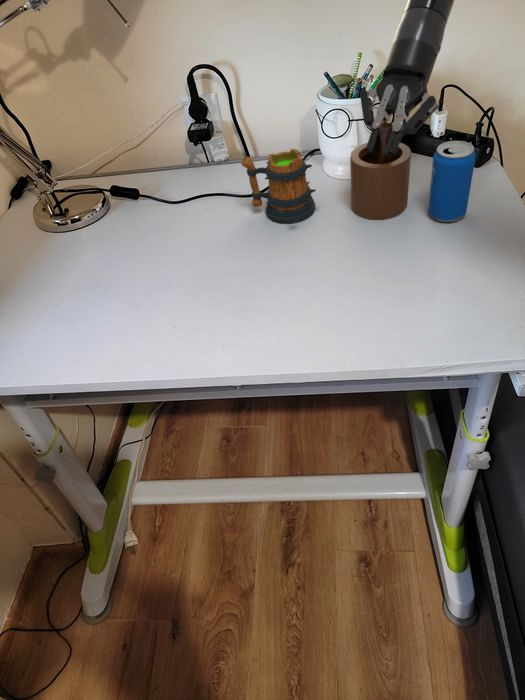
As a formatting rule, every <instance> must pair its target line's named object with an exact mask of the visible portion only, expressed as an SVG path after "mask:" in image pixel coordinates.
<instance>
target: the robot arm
mask: <svg viewBox="0 0 525 700" xmlns="http://www.w3.org/2000/svg"><path fill="white" fill-rule="evenodd" d="M454 3H455V0H407V3H406V7H405V9H404V13H403V15H402V18H401V20H400V22H399V24H398V27H397V28H396V31H395V35H394V37H393V41H392V43H391V47H390V49H389V53H388V56H387V60H386V63H385V65H384V68H383V73H382V77H381V78H380V80H379V82H378V83H377V84H376V86H375V87H374V88H372V89H370V90H368V91H367V89H365V88H363V89H361V91H360V92H359V96H360V104H361V110H362V118H363V123H364V124H365V125H366V127H367V128H368V129H369V130H371V132H370V135H369V137H368V141H367V143H368V144H367V149H368V152H369V154H370V155H371V156H376V154H377V151H378V145H379V125H380V124H382V123H390V120H391V118H392V116H393V115H395V118H394V123H393V131H392V132H391V133H390V136H389V139H388V142H387V145H386V148H385V151H384V156H385V157H386V158H389V159H391V158H392V155H395V154H396V153H397V149H398V146H399V144H400V143H401V140H402V138H403V137H404V136H406V135H410V136H412V135H415V134H416V133H417V132H418V131H419V129H420V128H421V127H423V125H424V124H425V123H426V122H427V120H428V119H429V118H430V117H431V116H432V115H433V114H434V113H435V112H436V111H437V109H438V108H439V103H438V101H437V99H436V97H435V96H434V95H430V94H428V84H429V82H430V79H431V76H432V73H433V70H434V67H435V64H436V61H437V59H438V55H439V54H440V51H441V48H442V43H443V40H444V35H445V31H446V27H447V24H448V21H449V18H450V15H451V12H452V9H453V6H454ZM377 98H378V101H379V105H378V107H377V109H376V114H374V107H373V105H375V103H376V99H377ZM419 104H420V105H419ZM418 105H419V108H418V109H416V111H415V112H414V113H413V114H412V116H411V113H412V111H413V110H414V109H415V108H416V107H417V106H418ZM410 116H411V117H410Z"/></svg>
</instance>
